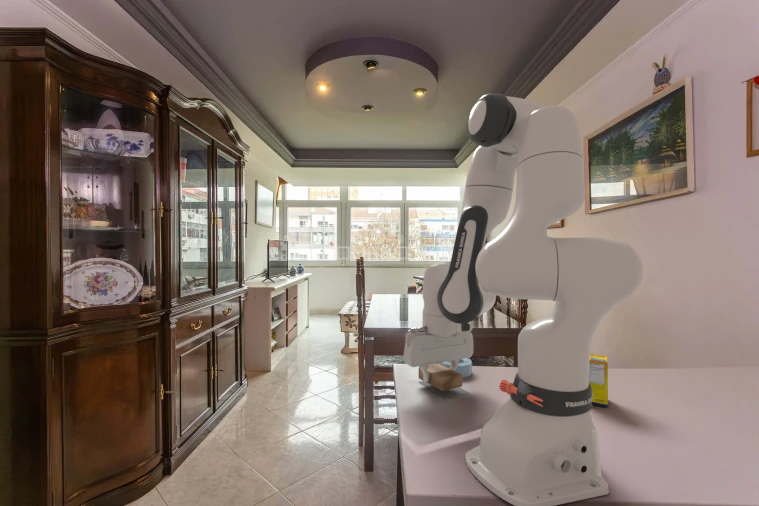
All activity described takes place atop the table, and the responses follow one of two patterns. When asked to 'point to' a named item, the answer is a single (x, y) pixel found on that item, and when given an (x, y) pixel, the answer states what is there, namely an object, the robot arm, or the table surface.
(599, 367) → the supplement box
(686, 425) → the table surface
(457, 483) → the table surface
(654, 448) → the table surface
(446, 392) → the mat
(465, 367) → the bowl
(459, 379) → the tan rectangular sponge
